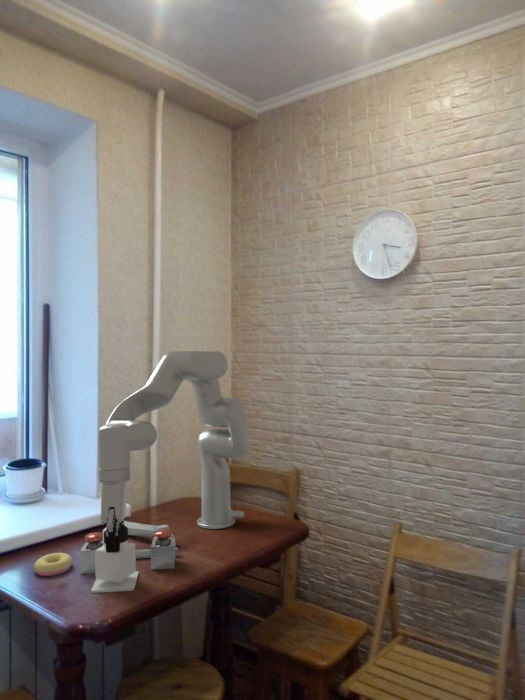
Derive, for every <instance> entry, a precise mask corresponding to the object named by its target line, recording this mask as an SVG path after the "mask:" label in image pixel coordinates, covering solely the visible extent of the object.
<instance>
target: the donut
mask: <svg viewBox="0 0 525 700" xmlns="http://www.w3.org/2000/svg"><path fill="white" fill-rule="evenodd" d="M72 565H73V558H72V556H71V555H69V554H68V553H65V552H54V553H49V554H45V555H43V556H41V557H39V558H38V559H37V560H36V561H35V563H34V565H33V570H34V573H36V574H37V575H38V576H42V577H54V576H58V575H60V574H64V573H65V572H67V571H68V570H69V569H70V568H71V567H72Z"/></svg>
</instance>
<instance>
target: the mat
mask: <svg viewBox="0 0 525 700" xmlns="http://www.w3.org/2000/svg"><path fill="white" fill-rule="evenodd" d="M138 577H139V571H135V572H134V573H132V574H131V575H129V576H128V577H127V578H125V579H124V580H122V581H121V582H114V581H107V580H100V579H96V578H95V581H94V583H93V585H92V588H91V590H90V594H100V593H114V592H131V591H132V592H133V591H134V590H135V587H136V585H137V580H138Z"/></svg>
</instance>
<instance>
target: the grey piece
mask: <svg viewBox="0 0 525 700" xmlns="http://www.w3.org/2000/svg"><path fill="white" fill-rule="evenodd" d="M124 524H125V526H126V527H127V528H128V536H142V537H153V539H157V538H155V536H154V532H155V531H157V530H160V529H169V530H171V529H170V526H169V524H161V525H152V524H145V523H138V522H132V521H126V520H125V519H124ZM169 538H175V536H174V534H172V536H171V537H169ZM153 539H152V540H153Z"/></svg>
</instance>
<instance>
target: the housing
mask: <svg viewBox="0 0 525 700" xmlns="http://www.w3.org/2000/svg"><path fill="white" fill-rule="evenodd" d="M102 546H103V541H101V547H102ZM97 549H98V548H96V549H88V542H87V541H86V542H85V543H84V544H83V545H82V547H81V549H80V551H79V552H80V554H79V555H80V561H79V562H80V563H79V564H80V575H82V574H83V575H84V574H85V575H86V574H95V550H97ZM178 551H179V548H178V547H176V538H175V537H174V538H169V545H157V539H152V541H151V545H150V548H149V549H148V548H147V549H145V548H144V549H135V557H136V560H137V559H138V560H140V559H150V570H152V571H153V570H154V571H155V570H169V569H175V565H176V557H178V555H179V554H178V553H179V552H178Z"/></svg>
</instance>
